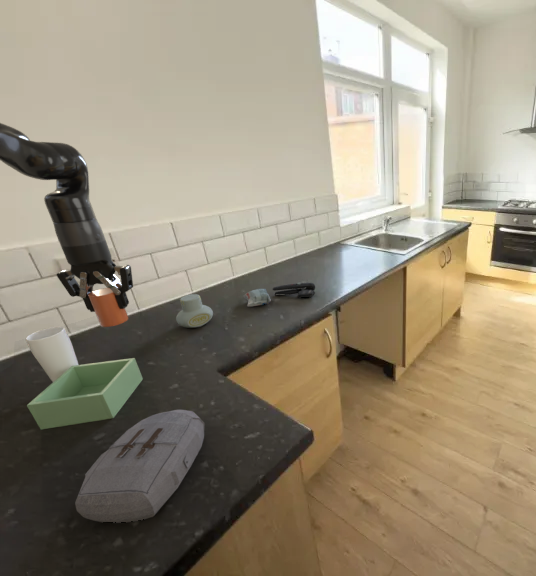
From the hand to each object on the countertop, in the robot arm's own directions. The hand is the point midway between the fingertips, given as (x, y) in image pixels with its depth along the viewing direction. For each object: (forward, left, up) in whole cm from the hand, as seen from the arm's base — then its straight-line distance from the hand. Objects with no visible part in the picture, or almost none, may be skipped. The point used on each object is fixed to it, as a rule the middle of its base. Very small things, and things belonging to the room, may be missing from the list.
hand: (109, 308), depth 77 cm
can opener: (+39, +42, -19) cm, 61 cm away
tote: (-4, -10, -19) cm, 22 cm away
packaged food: (+25, +38, -19) cm, 50 cm away
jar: (0, 0, -3) cm, 3 cm away
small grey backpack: (+18, -33, -19) cm, 42 cm away
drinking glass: (-14, -1, -19) cm, 24 cm away
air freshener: (+7, +26, -19) cm, 33 cm away
